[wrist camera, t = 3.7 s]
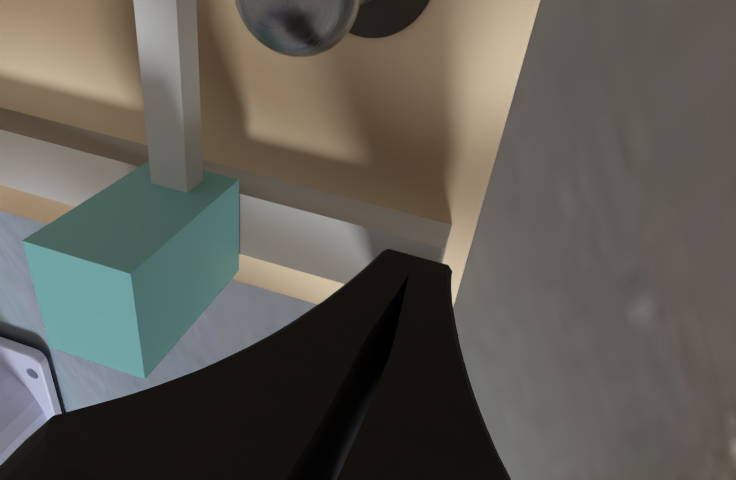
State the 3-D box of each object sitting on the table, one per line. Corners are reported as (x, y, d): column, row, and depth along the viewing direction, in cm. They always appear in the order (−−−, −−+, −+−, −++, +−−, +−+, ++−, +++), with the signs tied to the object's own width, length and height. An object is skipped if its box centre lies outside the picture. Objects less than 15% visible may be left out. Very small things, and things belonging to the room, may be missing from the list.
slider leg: (257, 249, 14) (144, 379, 10) (184, 228, 14) (49, 347, 10) (264, -78, 10) (85, -67, 6) (164, -96, 10) (-67, -96, 6)
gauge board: (450, 312, 15) (436, 369, 13) (-47, 169, 17) (-116, 200, 15) (600, -218, 9) (612, -251, 7) (-200, -314, 11) (-344, -355, 9)
